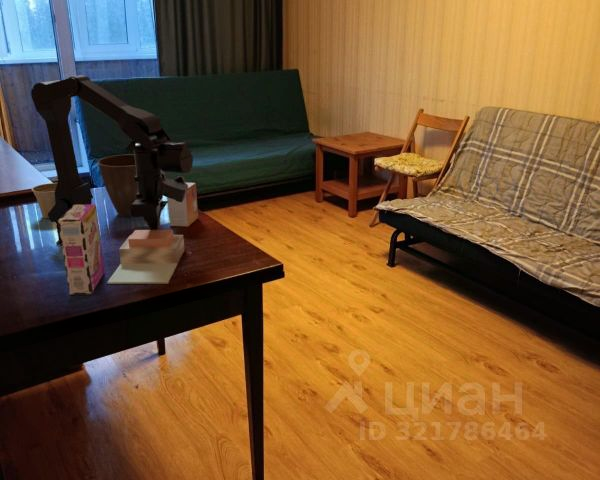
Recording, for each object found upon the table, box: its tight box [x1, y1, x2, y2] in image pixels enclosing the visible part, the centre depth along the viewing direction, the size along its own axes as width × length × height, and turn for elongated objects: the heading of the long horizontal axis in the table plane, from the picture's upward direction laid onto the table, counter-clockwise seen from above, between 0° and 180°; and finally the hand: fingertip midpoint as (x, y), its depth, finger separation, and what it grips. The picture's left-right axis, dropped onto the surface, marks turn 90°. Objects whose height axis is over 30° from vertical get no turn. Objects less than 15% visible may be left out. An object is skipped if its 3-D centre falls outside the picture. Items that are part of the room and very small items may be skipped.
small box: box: [166, 181, 199, 227], centre depth 156 cm, size 8×6×10 cm
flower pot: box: [31, 182, 57, 219], centre depth 162 cm, size 9×9×9 cm
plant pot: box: [97, 153, 143, 218], centre depth 163 cm, size 15×15×16 cm
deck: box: [118, 234, 185, 265], centre depth 134 cm, size 13×9×4 cm
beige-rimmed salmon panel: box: [128, 229, 174, 247], centre depth 132 cm, size 9×6×2 cm, turn 90°
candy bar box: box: [58, 203, 105, 296], centre depth 118 cm, size 11×5×16 cm, turn 5°
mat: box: [106, 263, 178, 285], centre depth 125 cm, size 13×10×1 cm
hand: (155, 232), depth 136 cm, fingers closed
